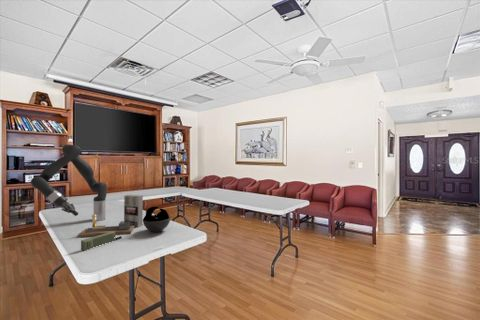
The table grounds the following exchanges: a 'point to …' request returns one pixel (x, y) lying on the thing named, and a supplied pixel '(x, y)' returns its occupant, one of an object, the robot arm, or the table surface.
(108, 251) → the table surface
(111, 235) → the handheld radio
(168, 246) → the table surface
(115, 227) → the wooden track base
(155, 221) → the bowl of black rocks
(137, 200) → the cassette tape recorder
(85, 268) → the table surface
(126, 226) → the steel keeper
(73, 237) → the table surface
